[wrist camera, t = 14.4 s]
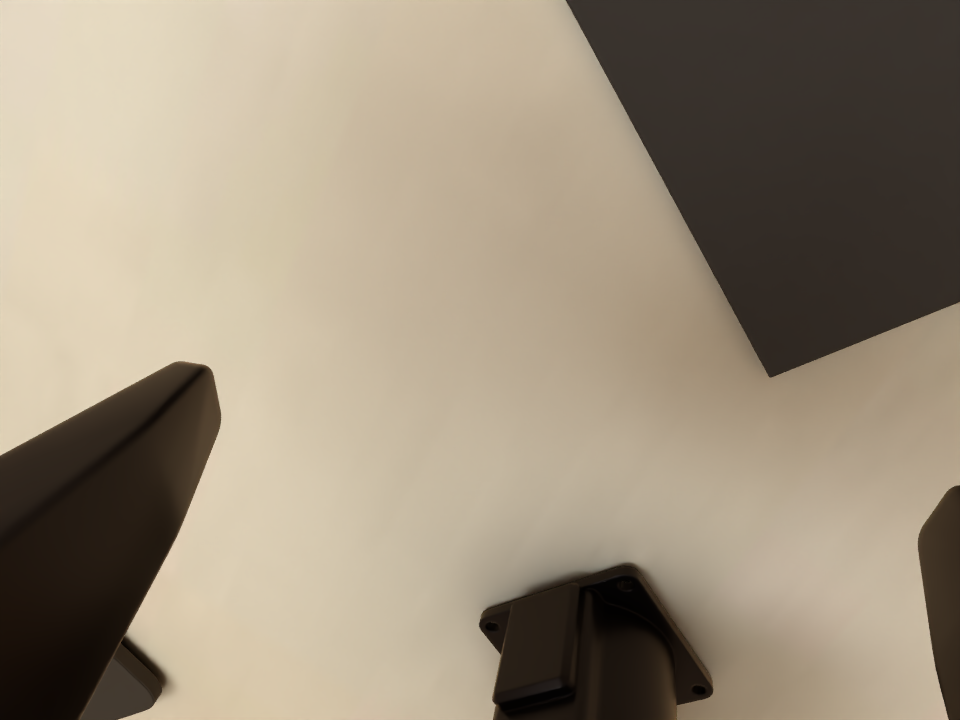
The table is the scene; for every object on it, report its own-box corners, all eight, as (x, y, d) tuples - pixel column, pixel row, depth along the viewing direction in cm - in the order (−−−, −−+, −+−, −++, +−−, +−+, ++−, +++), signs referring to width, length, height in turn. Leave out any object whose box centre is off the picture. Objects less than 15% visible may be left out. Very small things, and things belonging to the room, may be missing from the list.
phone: (-123, 674, 37) (45, 592, 31) (-109, 661, 38) (58, 578, 32) (-13, 764, 40) (165, 705, 33) (-1, 750, 40) (175, 689, 34)
